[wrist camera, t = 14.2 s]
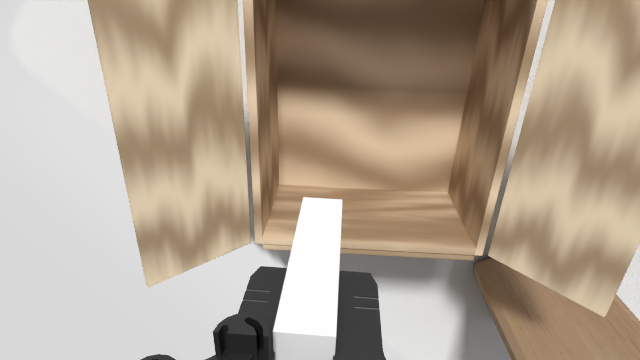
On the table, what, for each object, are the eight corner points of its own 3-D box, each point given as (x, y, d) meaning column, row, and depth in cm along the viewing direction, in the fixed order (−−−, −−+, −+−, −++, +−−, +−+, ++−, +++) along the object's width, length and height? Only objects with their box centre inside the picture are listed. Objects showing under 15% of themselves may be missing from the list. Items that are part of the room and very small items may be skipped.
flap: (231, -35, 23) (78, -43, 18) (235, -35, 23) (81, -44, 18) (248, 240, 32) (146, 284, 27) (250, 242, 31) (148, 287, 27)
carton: (267, -42, 32) (238, -52, 23) (496, -35, 31) (558, -42, 22) (273, 190, 41) (254, 248, 32) (450, 199, 41) (481, 260, 32)
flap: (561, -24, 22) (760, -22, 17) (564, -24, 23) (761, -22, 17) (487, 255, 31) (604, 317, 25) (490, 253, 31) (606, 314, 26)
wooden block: (582, 295, 45) (741, 500, 27) (495, 322, 48) (587, 527, 30) (561, 228, 42) (728, 413, 24) (467, 261, 44) (554, 452, 26)
